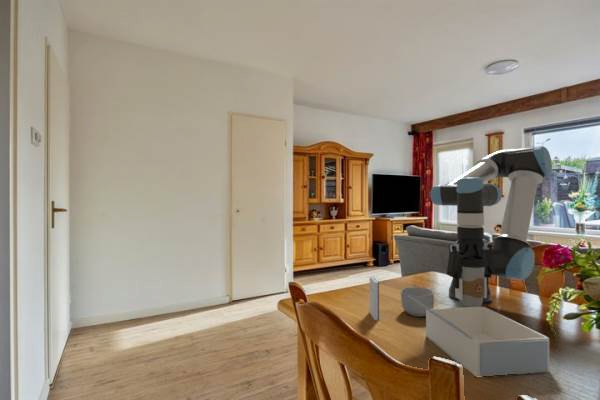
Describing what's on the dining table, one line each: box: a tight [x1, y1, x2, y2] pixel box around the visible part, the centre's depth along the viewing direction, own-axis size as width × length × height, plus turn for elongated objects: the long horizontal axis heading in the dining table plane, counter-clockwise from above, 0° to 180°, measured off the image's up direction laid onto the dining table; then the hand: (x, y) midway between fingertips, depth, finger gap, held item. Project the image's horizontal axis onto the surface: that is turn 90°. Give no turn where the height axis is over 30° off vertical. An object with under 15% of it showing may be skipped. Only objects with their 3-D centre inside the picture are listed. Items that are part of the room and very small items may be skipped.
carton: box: [425, 306, 550, 376], centre depth 85 cm, size 19×23×8 cm
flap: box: [408, 295, 473, 339], centre depth 84 cm, size 7×20×1 cm
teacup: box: [400, 285, 435, 317], centre depth 116 cm, size 14×11×8 cm
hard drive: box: [369, 276, 380, 321], centre depth 112 cm, size 2×8×12 cm, turn 0°
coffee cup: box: [456, 256, 485, 307], centre depth 105 cm, size 8×8×15 cm
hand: (470, 297), depth 106 cm, fingers closed on coffee cup, 7 cm apart
